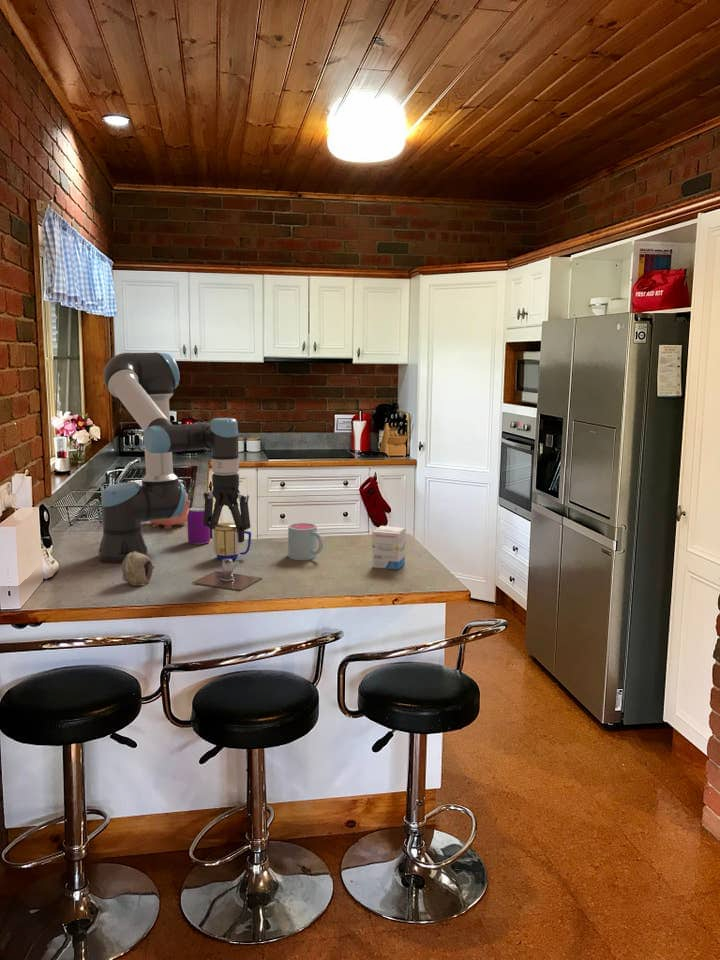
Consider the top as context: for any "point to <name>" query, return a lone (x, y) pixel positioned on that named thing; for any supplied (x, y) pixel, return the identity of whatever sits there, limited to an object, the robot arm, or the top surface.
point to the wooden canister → (225, 538)
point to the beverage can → (197, 526)
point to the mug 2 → (303, 541)
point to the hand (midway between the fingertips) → (227, 551)
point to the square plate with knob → (227, 578)
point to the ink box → (388, 547)
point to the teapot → (174, 518)
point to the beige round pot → (137, 569)
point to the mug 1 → (239, 553)
